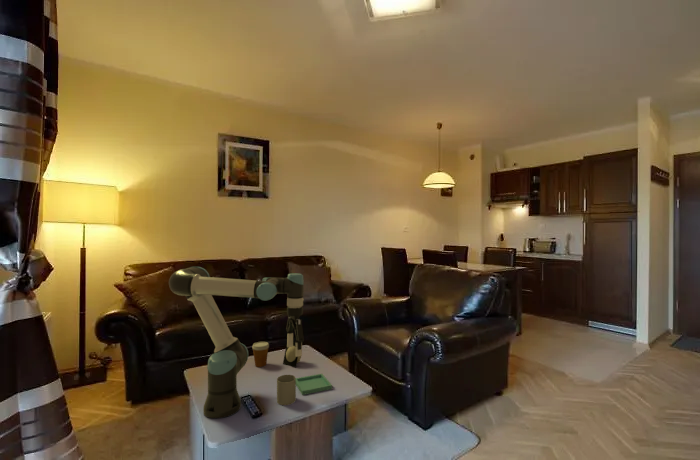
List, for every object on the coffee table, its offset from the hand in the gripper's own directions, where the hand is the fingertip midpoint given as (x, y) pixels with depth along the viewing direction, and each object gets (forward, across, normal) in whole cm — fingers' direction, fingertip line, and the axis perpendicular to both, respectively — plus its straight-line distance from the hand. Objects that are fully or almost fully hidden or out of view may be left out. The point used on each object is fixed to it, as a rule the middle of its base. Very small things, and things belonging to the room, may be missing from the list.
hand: (294, 351), depth 159 cm
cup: (+20, -5, +5) cm, 21 cm away
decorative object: (+20, +36, -11) cm, 43 cm away
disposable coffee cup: (+21, +42, +6) cm, 48 cm away
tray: (+20, +4, -11) cm, 23 cm away
